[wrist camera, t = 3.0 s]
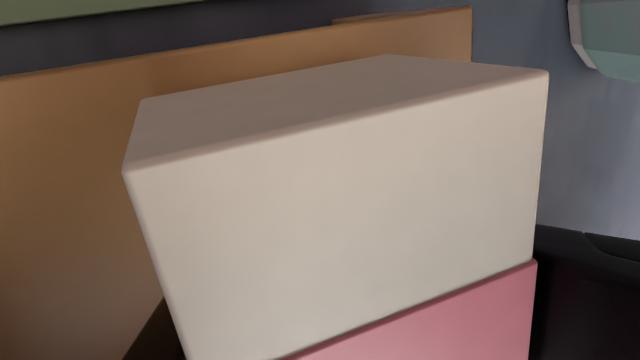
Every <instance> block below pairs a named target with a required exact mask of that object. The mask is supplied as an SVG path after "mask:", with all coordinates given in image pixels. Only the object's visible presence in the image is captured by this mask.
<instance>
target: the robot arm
mask: <svg viewBox="0 0 640 360" xmlns="http://www.w3.org/2000/svg"><path fill="white" fill-rule="evenodd" d="M532 258H534V259H535V260H536V261H537V263H538V266H537V276H536V286H535V295H534V305H533V315H532V325H531V334H530V344H529V354H528V360H640V241H638V240H631V239H625V238H618V237H612V236H605V235H599V234H594V233H588V232H585V233H584V234H583V233H582V232H581V231H575V230H569V229H563V228H557V227H551V226H545V225H539V224H535V233H534V244H533V254H532ZM122 360H186V357H185V354H184V351H183V348H182V345H181V342H180V340H179V337H178V334H177V331H176V328H175V325H174V323H173V320H172V317H171V314H170V311H169V308H168V305H167V303H166V300H165V297H164V296H163V298H162V300H161V301H160V303H159V304H158V306H157V307H156V309H155V310H154V312H153V313H152V315H151V316H150V318H149V319H148V321H147V322H146V324H145V325H144V327H143V328H142V330H141V331H140V333H139V334H138V336H137V337H136V339H135V340H134V342H133V343H132V345H131V346H130V348H129V349H128V351H127V352H126V354H125V356H124V357H123V359H122Z"/></svg>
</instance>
